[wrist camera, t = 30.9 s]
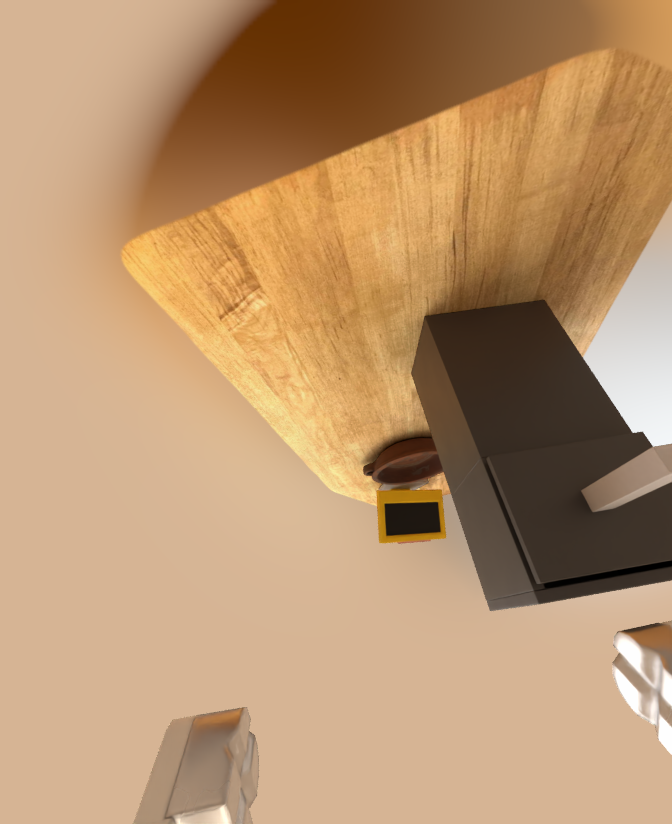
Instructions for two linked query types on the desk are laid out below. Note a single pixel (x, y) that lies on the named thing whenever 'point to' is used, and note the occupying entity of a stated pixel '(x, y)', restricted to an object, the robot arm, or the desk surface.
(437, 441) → the cabinet
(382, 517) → the toy computer monitor
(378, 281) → the desk surface
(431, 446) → the dish
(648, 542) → the drawer
